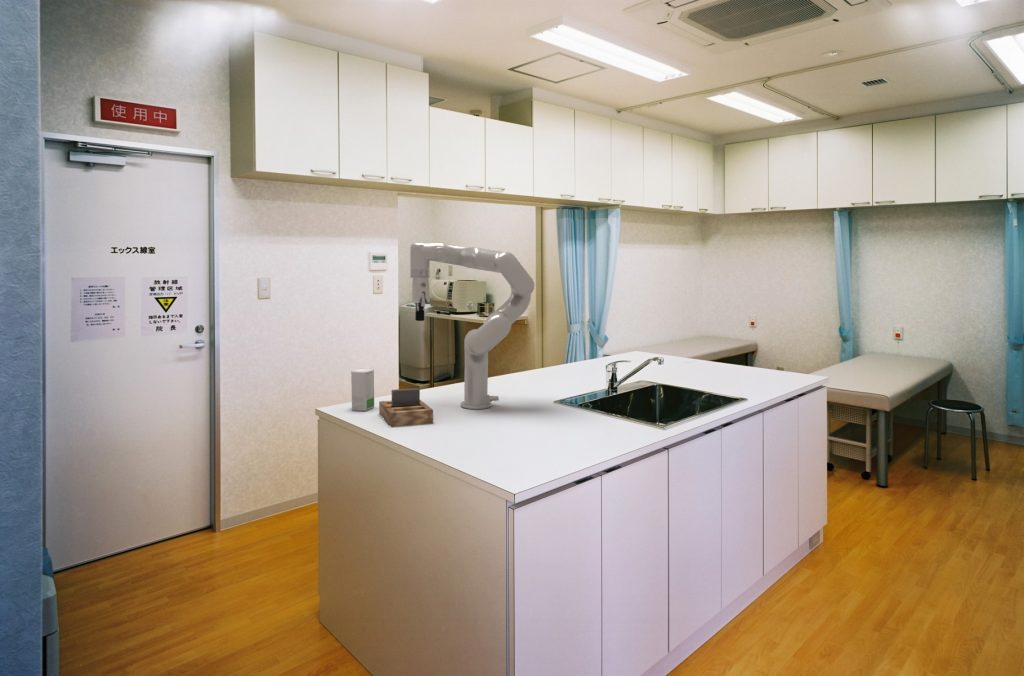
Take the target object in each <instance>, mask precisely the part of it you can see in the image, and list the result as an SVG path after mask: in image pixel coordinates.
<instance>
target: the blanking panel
mask: <svg viewBox="0 0 1024 676" xmlns="http://www.w3.org/2000/svg"><path fill="white" fill-rule="evenodd" d="M420 391H421V390H420V388H404V389H403V388H402V389H400V388H399V389H391V401H392V408H395V407H409V406H420V400H421V399H420V398H421V396H420V395H421V392H420Z"/></svg>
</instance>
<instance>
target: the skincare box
mask: <svg viewBox="0 0 1024 676" xmlns="http://www.w3.org/2000/svg"><path fill="white" fill-rule="evenodd" d="M350 374H351V379H350V381H351V411H358V412H367V411H369V410H371V408H372V409H374V408H375V371H374V368H370V369H369V368H358V369H354V370H352V371H351V373H350ZM373 407H374V408H373Z"/></svg>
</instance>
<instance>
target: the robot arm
mask: <svg viewBox="0 0 1024 676" xmlns="http://www.w3.org/2000/svg"><path fill="white" fill-rule="evenodd" d="M409 249H410V251H409V254H410V258H409V260H410V262H409V263H410V264H409V265H410V270H409V271H410V273H409V275H410V279H412V281H411V301H412V302H413V303H414V307H415V310H414V311H415V319H414V320H415V321H417V322H423V321H425V307H426V304H429V303H430V300H431V299H430V296H431V295H430V282H429V279H430V276H431V275H430V272H431V271H430V262H437V263H443V264H449V265H455V266H460V267H465V268H468V269H473V270H478V271H479V270H480V271H484V272H485V271H486V272H491V273H497V274H498V273H499V274H501V275H502V277H503V278H504V279H505V280H506V282H507V283H508V285H510V290H511V292H510V295H509V297H508V299H506V301H505V302H503V304H502V305H500V306H499V307H498V308H497V309H495V311H493V312H492V313H491V314H489V315H488V316H486V317H487V318H486V319H485V322H484V323H483V324H482V325H481V326H480V327H478V328H475V329H471V330H469V331H468V332H467V333H466V335H465V337H464V340H463V341H464V343H463V344H464V345H463V346H464V395H463V396H464V398H463V401H461V402H460V407H461V408H463V409H467V410H468V409H469V410H483V409H489V408H491V407H492V403H491V402H496V401H497V402H498V401H499V399H500V397H499V396H498V395H490V394H488V393H489V392H488V387H489V386H488V384H489V383H488V382H489V378H488V377H489V352H490V351H491V350H492V349H493V348H494V347H496V346H497V345H498V344H500V342H501V341H502V340H503V339H505V337H507V336H508V335H509V334H510V331H511V329H512V325H513V324H514V323H515V322H516V321H517V320H518V319H519V318H520V317H521V316H522V315H523V314H524V313H525V312H526V310H528V308H529V306H530V302H531V298H532V294H533V292H534V289H535V282H534V279H533V278H532V277H531V275H530V274H529V273H528V271H527V270H526V268H524V265H522V263H521V262H520V261H519V260H518V258H517V257H516V256H515V255H514V254H513V253H512V252H510V251H501V250H500V251H499V250H494V249H492V250H491V249H486V248H481V247H474V246H473V247H471V246H470V247H469V246H468V247H464V246H456V245H455V246H454V245H449V244H445V243H443V242H433V243H426V242H413V243H411V244H410V248H409Z"/></svg>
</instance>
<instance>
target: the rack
mask: <svg viewBox="0 0 1024 676" xmlns="http://www.w3.org/2000/svg"><path fill="white" fill-rule="evenodd" d="M378 404H379V405H378V409H379V410H378V413H379V414H378V415H379V416H380V415H381V416H382V417H383V418H384V419H383V418H382V417H381V418H382V419H383V420H384V421H385V422H386V424H388V425H390V426H391V427H390V428H392V427H393V428H394V426H396V427H404V426H405V425H407V426H414V425H415V426H416V425H418V424H419V425H427V424H429V425H431V424H434V409H433V408H432V407H430V406H429V405H427V404H426V403H425V402H424V401H423V400H422V399H420V406H409V407H395V408H392V400H380V401H378ZM419 425H418V426H419ZM405 427H406V426H405Z"/></svg>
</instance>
